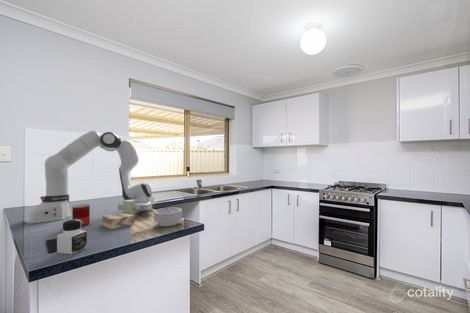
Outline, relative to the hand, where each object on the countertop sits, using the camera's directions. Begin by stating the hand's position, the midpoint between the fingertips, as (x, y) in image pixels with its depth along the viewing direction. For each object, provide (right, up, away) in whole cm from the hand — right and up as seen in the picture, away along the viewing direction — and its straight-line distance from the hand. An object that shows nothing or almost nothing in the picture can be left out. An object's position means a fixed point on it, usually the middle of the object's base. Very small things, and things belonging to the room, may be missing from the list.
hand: (128, 208), depth 144 cm
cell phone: (-10, -7, -42) cm, 44 cm away
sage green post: (0, -6, +1) cm, 6 cm away
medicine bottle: (-1, -6, -49) cm, 49 cm away
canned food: (-21, -6, -13) cm, 25 cm away
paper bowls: (+28, -6, -12) cm, 31 cm away
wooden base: (0, -6, -13) cm, 14 cm away
